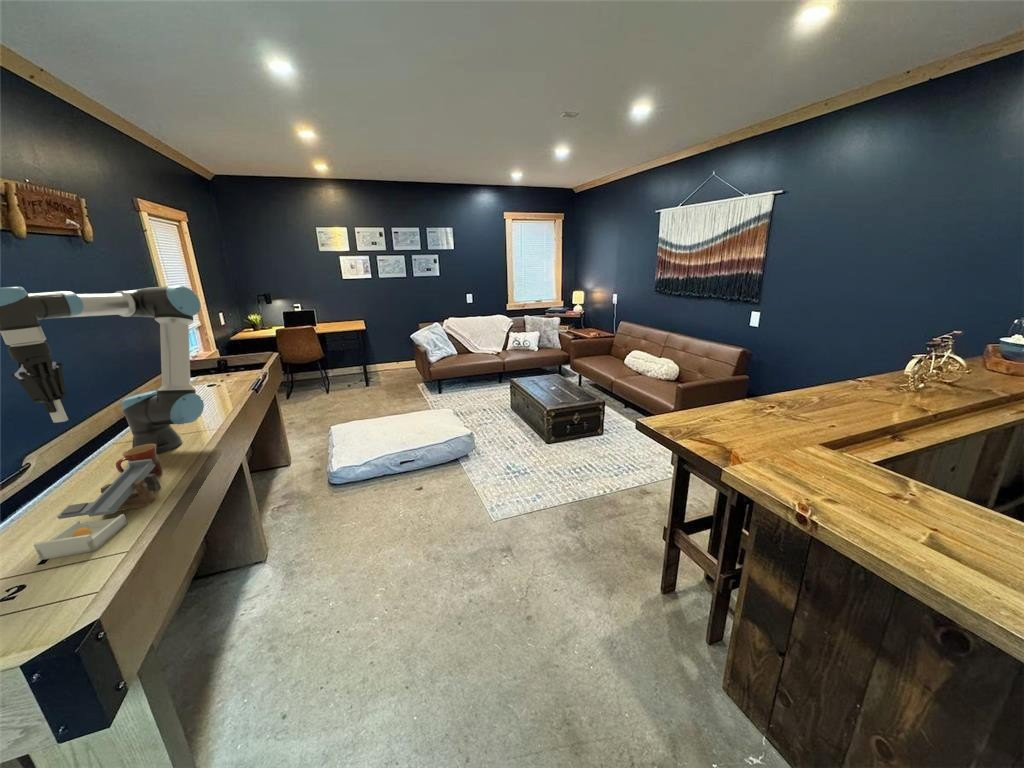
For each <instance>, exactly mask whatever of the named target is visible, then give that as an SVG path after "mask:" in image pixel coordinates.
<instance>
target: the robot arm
mask: <svg viewBox="0 0 1024 768" xmlns="http://www.w3.org/2000/svg"><path fill="white" fill-rule="evenodd" d="M200 311H201V301H200V299H199V297H198V296H197V294H196V293H195V292H194V291H193V290H192V289H191V288H190V287H187V286H184V285H173V284H172V285H167V286H156V287H155V286H154V287H153V286H152V287H145V288H138V289H132V290H130V289H129V290H117V291H115V292H113V293H75V292H73V291H69V290H68V291H67V290H58V291H57V290H56V291H44V292H33V293H29V292H28V291H26V289H25V288H24V287H22V286H7V287H6V286H5V287H0V335H1V336H2V339H3V341H4V344H5V345H7V346H8V347H7V348H6V349H7V352H8V353H9V356H10V358H11V359H12V360H15V361H16V362H17V368H18V370H17V371H16V372H12V373H11V374H10V375H11V377H12V378H14V379H15V380H16V381H18V383H19V384H20V385H21V387H22V389H24V390H25V392H26V393H27V395H28V396H29V397H30V399H31V400H32V401H33V402H34V403H38V404H43V405H44V408H45V410H46V412H47V413H48V414H49V416H50V418H51V420H52V422H53V423H54V424H55V423H63V422H64V423H65V422H67V421H69V417H68V416H67V413H66V411H65V405H64V403H63V401H62V399H65V398H66V394H67V390H66V386H65V385H66V384H65V379H64V374H63V367H64V365H63V362H61V361H60V362H59V361H58V362H56V361H53V358H52V357H50V355H51V354H52V350H51V346H50V345H49V343H48V342H46V341H47V337H46V335H45V333H44V331H43V328H42V326H41V323H40V321H42V320H49V319H62V318H79V317H80V318H82V317H99V316H100V317H101V316H113V315H114V316H115V315H118V316H120V317H124V318H128V317H138V318H139V317H140V318H141V317H143V318H154V321H156V322H157V323H159V333H160V335H159V336H160V362H161V363H160V364H161V365H160V367H161V369H160V370H161V386H160V387H159V388H158V389H156V390H150V391H145V392H142V393H139V394H136V395H135V394H134V395H132V396H129V397H126V398H124V399H122V400H121V404H120V405H121V407H122V412H123V415H124V417H125V419H126V422H127V424H128V427H129V429H130V432H131V434H132V447H131V448H134V447H137V446H140V445H145V444H156V454H157V455H158V454H161V453H165V452H168V451H170V450H173V449H175V448H177V447H179V446H180V445H181V444H182V443H183V440H182V437H181V436H180V435H179V434H178V432H177V431H176V430H175V429H174V428H173V427H172V425H184V424H190V423H193V422H196V421H197V420H198V419H199V417H201V416H202V414H203V412H204V408H205V407H204V406H205V404H204V399H203V398H202V397H201V396H200V395H199V394H197V392H196V388H195V387H193V386H192V384H191V359H190V329H189V327H190V325H191V324H193V323H194V316H195V315H197V314H198V313H199V312H200Z"/></svg>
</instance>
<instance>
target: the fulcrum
mask: <svg viewBox="0 0 1024 768" xmlns="http://www.w3.org/2000/svg"><path fill="white" fill-rule="evenodd" d="M111 484H112V483H107V484H105V485H103V486H102V487H101V488H100V493H101V494H102V493H103V492H104V491H105V490H106V489H107V488H108V487H109V486H110V485H111ZM134 486H135V488H136V489H135V491H136V492H132V494H131V495H130V496H129V497H128V498H127V499H126V500H125V502H124V503H123V504H122V505H121V506H120V507H119V509H118V510H117V511H124V510H131V509H132V510H133V509H138V508H145V507H148V506H149V505H151V504H152V503H153V502H154V501H155V500H156V499H157V497H156V495H155V492H157V491H159V490H160V489H161V488H162V487H161V484H160V481H159V479H158V475H157V476H156V473H155V474H148V475H147V476H146V477H145V479H142V480H138V481H137V482H136V483H134ZM117 511H116V512H117Z"/></svg>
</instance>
